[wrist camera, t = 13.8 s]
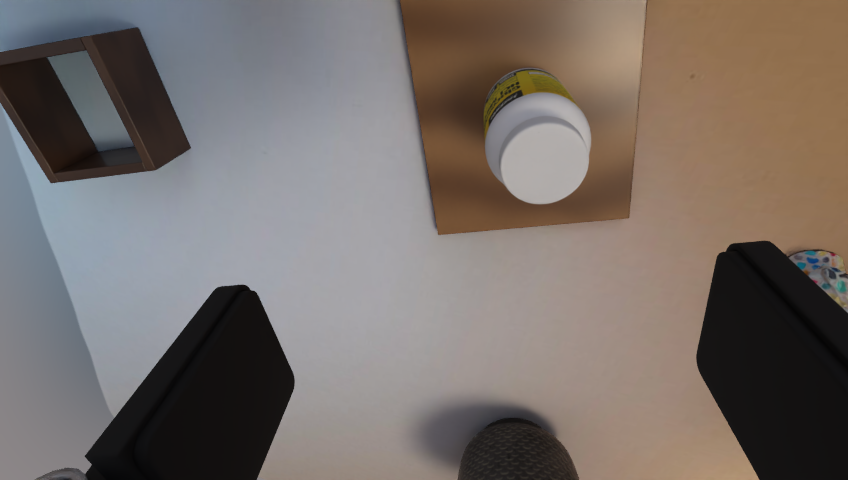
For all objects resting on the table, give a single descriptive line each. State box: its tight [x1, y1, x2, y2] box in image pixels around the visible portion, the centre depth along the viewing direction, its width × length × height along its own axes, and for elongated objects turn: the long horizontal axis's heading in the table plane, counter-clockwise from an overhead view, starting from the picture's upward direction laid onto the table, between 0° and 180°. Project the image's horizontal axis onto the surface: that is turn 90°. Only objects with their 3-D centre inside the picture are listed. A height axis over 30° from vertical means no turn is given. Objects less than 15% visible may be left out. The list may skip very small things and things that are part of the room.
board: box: [400, 0, 647, 235], centre depth 34 cm, size 20×16×1 cm
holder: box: [0, 28, 191, 183], centre depth 35 cm, size 10×10×5 cm
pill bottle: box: [484, 68, 591, 204], centre depth 28 cm, size 6×6×11 cm
